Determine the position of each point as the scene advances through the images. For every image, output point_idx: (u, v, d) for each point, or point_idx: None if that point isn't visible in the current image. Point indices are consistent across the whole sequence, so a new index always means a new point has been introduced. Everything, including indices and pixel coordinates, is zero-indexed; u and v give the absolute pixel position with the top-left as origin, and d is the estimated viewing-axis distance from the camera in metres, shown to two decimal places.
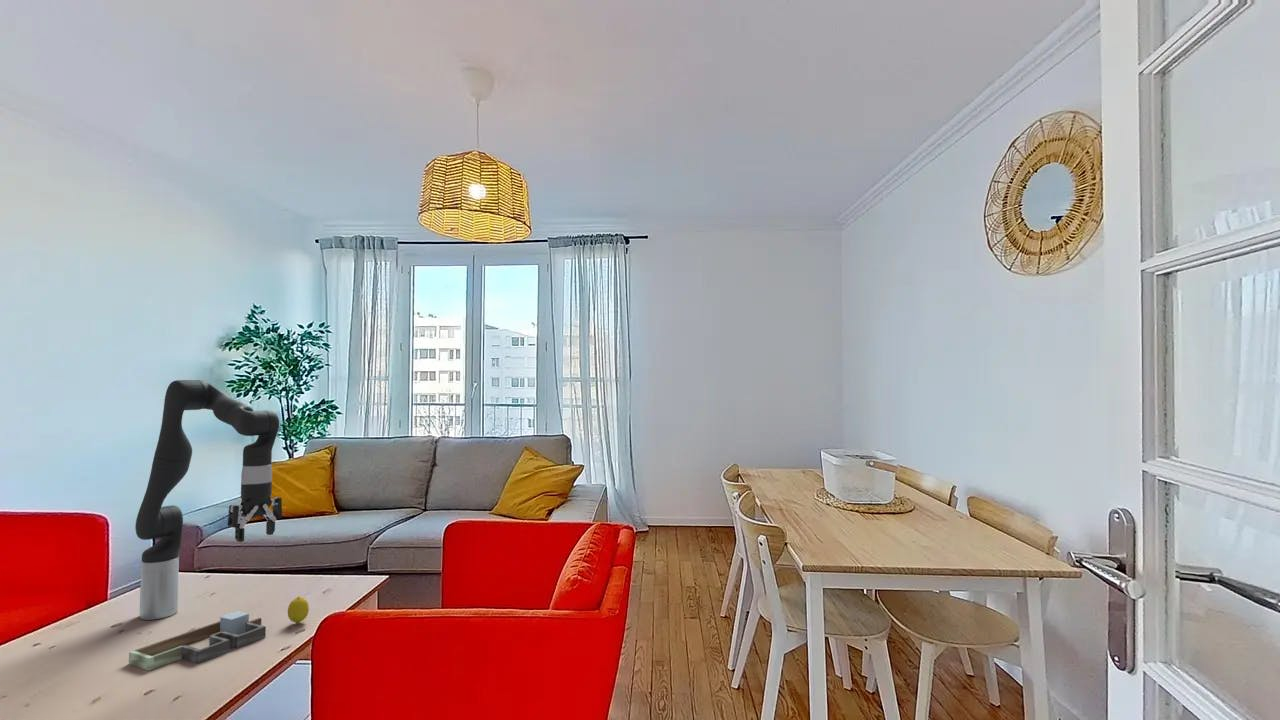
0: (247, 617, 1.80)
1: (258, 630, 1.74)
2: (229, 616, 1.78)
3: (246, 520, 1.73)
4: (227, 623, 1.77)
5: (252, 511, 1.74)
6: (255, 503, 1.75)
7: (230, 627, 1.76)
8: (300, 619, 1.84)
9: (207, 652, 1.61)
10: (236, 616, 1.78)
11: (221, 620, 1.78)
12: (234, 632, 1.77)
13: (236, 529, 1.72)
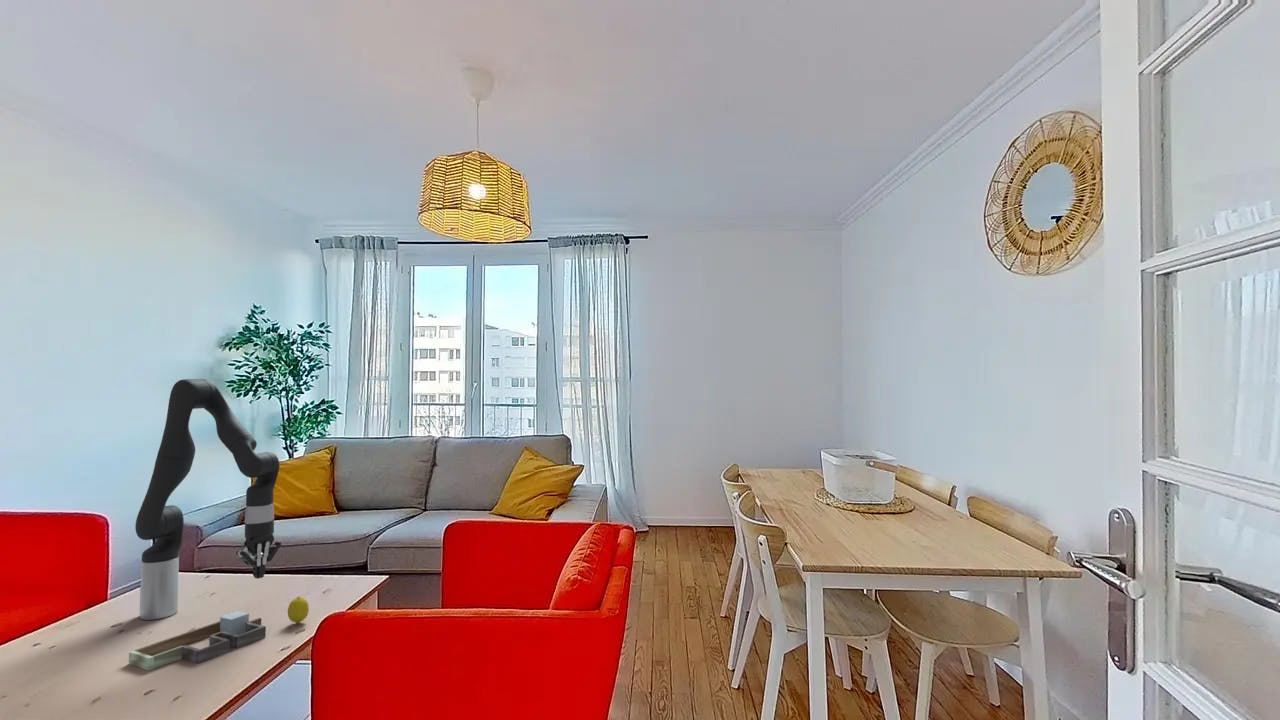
0: (247, 617, 1.80)
1: (258, 630, 1.74)
2: (229, 616, 1.78)
3: (259, 558, 1.85)
4: (227, 623, 1.77)
5: (258, 549, 1.84)
6: (258, 541, 1.85)
7: (230, 627, 1.76)
8: (300, 619, 1.84)
9: (207, 652, 1.61)
10: (236, 616, 1.78)
11: (221, 620, 1.78)
12: (234, 632, 1.77)
13: (254, 567, 1.85)
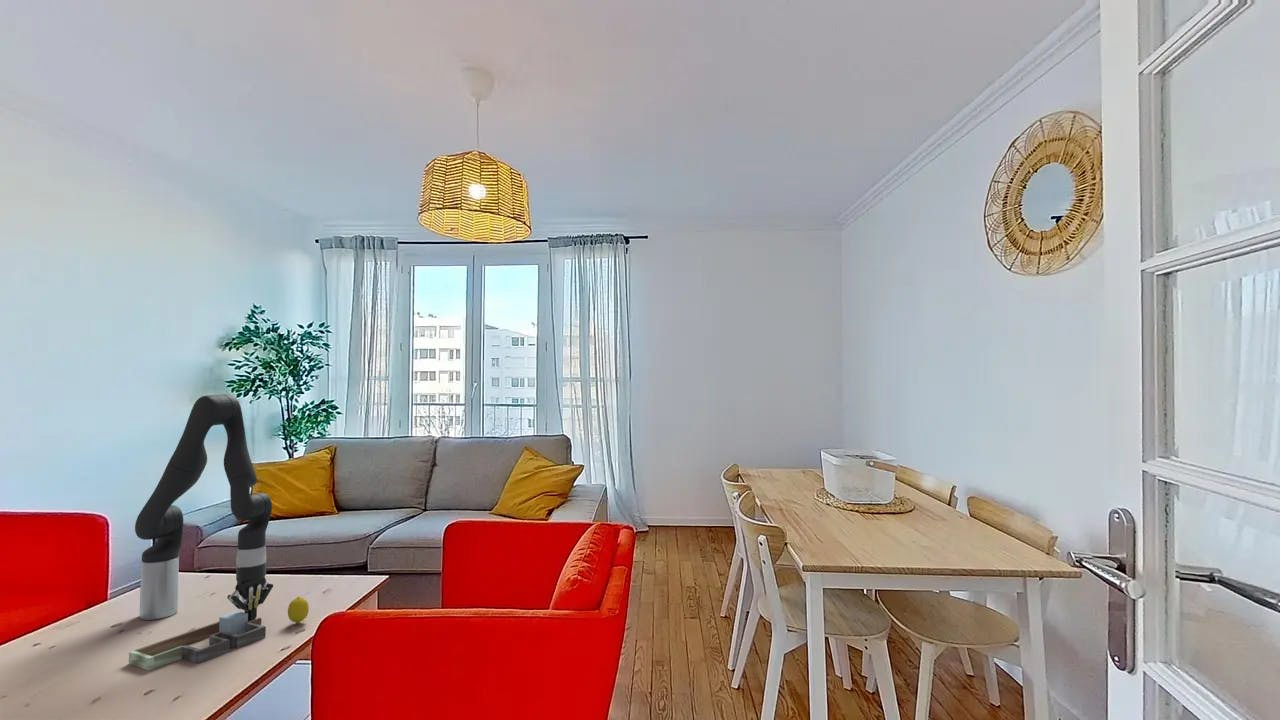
0: (246, 617, 1.80)
1: (258, 630, 1.74)
2: (228, 616, 1.78)
3: (250, 601, 1.82)
4: (226, 623, 1.76)
5: (250, 593, 1.82)
6: (250, 584, 1.83)
7: (230, 627, 1.76)
8: (300, 619, 1.84)
9: (207, 652, 1.61)
10: (235, 616, 1.78)
11: (220, 620, 1.78)
12: (233, 632, 1.76)
13: (245, 610, 1.82)
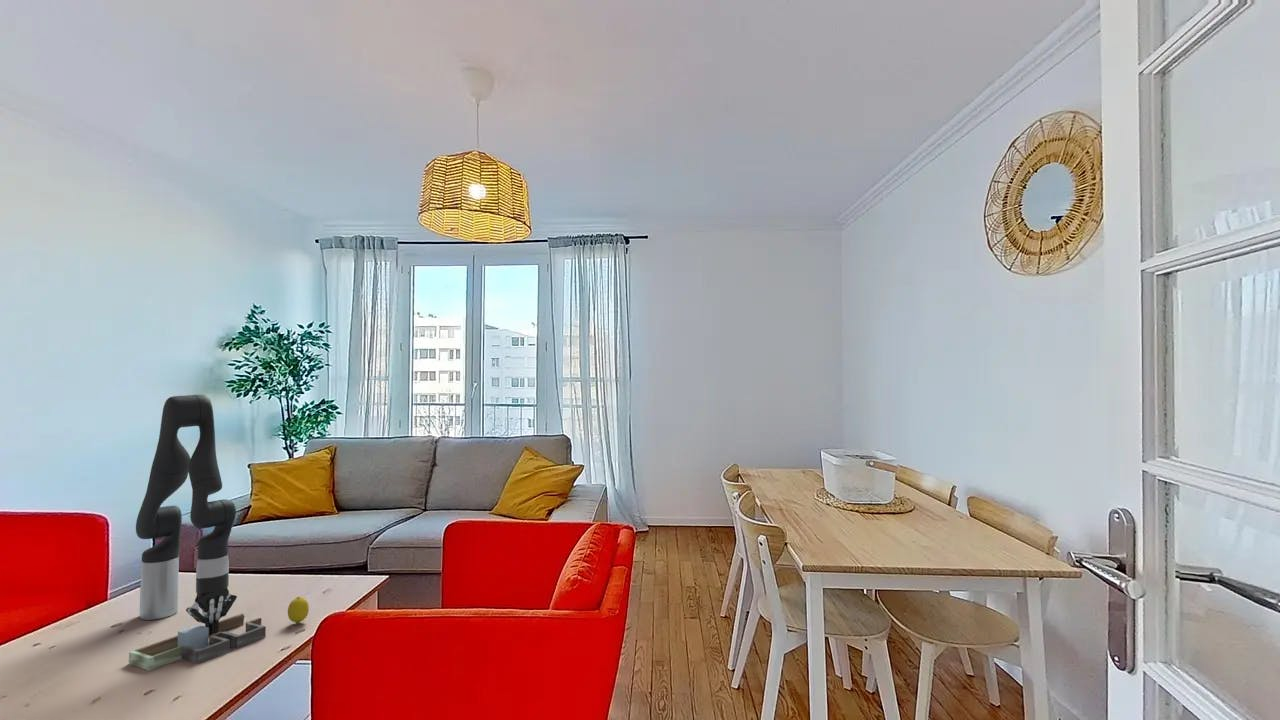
0: (206, 631, 1.70)
1: (258, 630, 1.74)
2: (187, 630, 1.68)
3: (211, 614, 1.72)
4: (184, 638, 1.66)
5: (211, 605, 1.72)
6: (211, 596, 1.72)
7: (188, 643, 1.65)
8: (300, 619, 1.84)
9: (207, 652, 1.61)
10: (195, 630, 1.68)
11: (179, 635, 1.67)
12: None
13: (206, 624, 1.72)
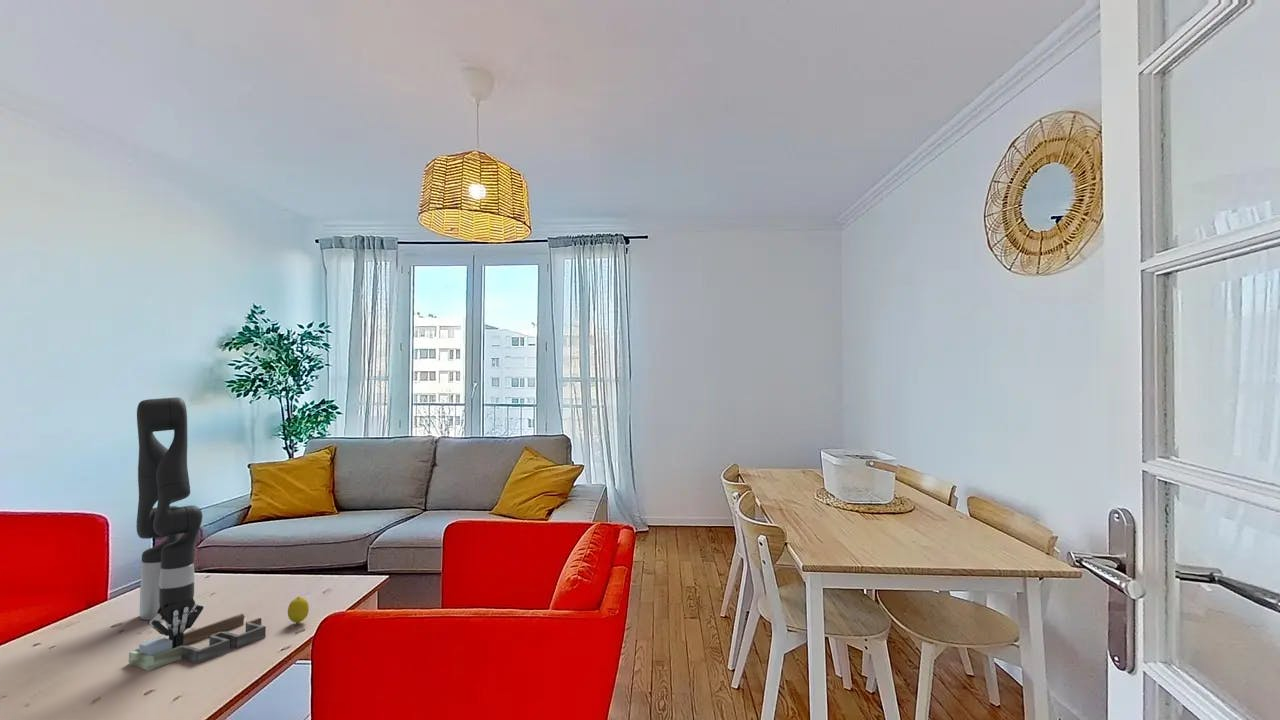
0: (170, 644, 1.61)
1: (258, 630, 1.74)
2: (149, 643, 1.60)
3: (175, 626, 1.64)
4: (146, 651, 1.58)
5: (174, 617, 1.63)
6: (175, 607, 1.64)
7: None
8: (300, 619, 1.84)
9: (207, 652, 1.61)
10: (157, 643, 1.60)
11: (140, 648, 1.59)
12: None
13: (170, 636, 1.64)
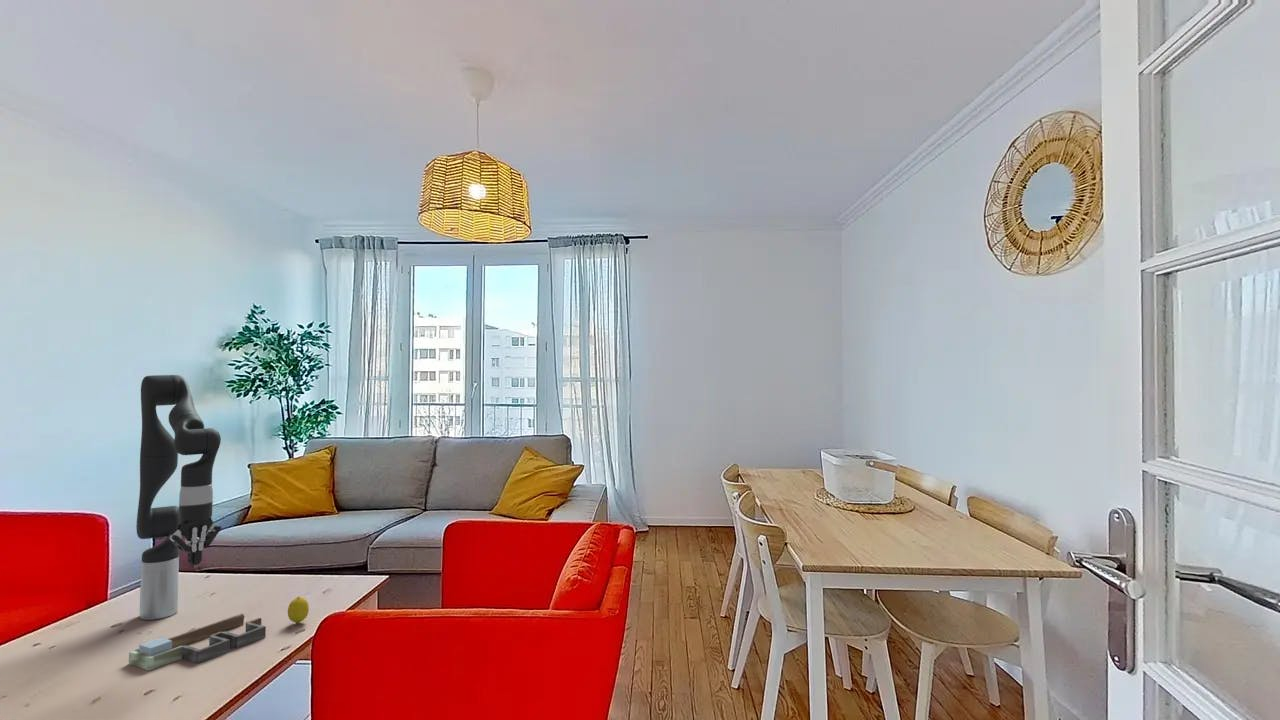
0: (170, 644, 1.61)
1: (258, 630, 1.74)
2: (149, 644, 1.60)
3: (194, 543, 1.69)
4: (146, 652, 1.58)
5: (193, 534, 1.69)
6: (194, 525, 1.69)
7: None
8: (300, 619, 1.84)
9: (207, 652, 1.61)
10: (157, 644, 1.60)
11: (140, 648, 1.59)
12: None
13: (189, 552, 1.69)
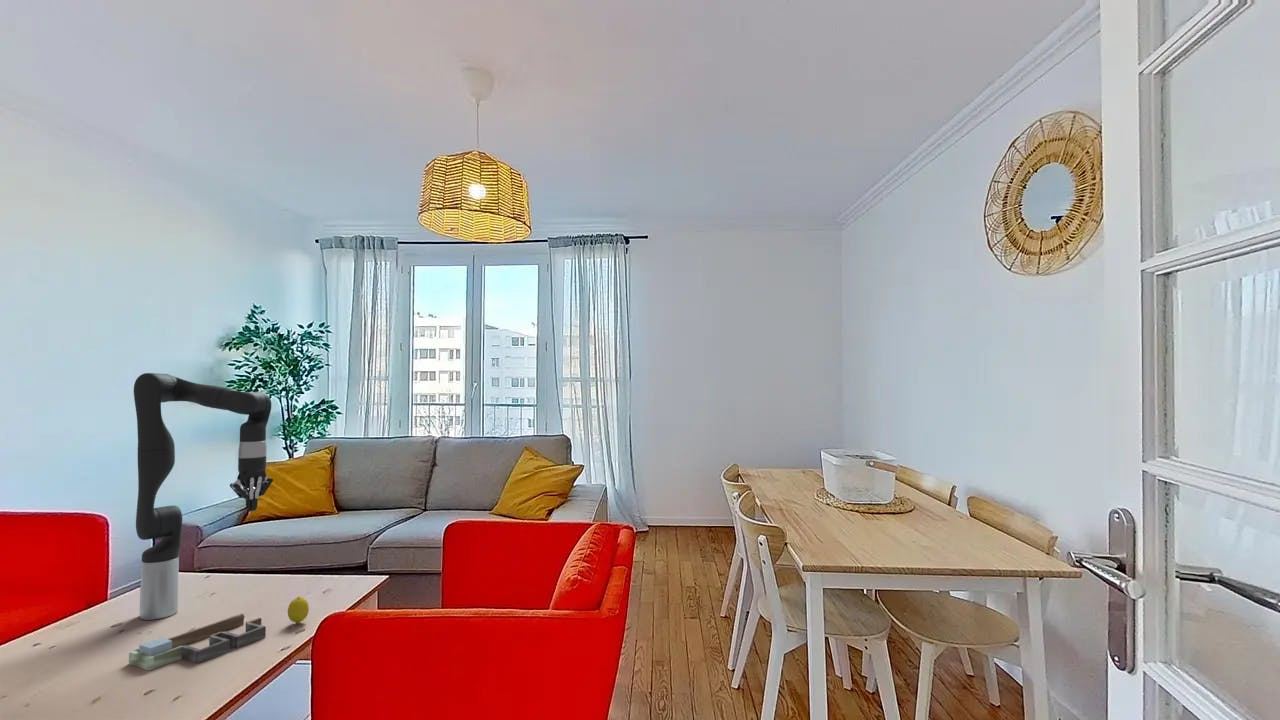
0: (170, 644, 1.61)
1: (258, 630, 1.74)
2: (149, 644, 1.60)
3: (251, 491, 1.93)
4: (146, 652, 1.58)
5: (251, 483, 1.93)
6: (251, 475, 1.93)
7: None
8: (300, 619, 1.84)
9: (207, 652, 1.61)
10: (157, 644, 1.60)
11: (140, 648, 1.59)
12: None
13: (246, 500, 1.93)
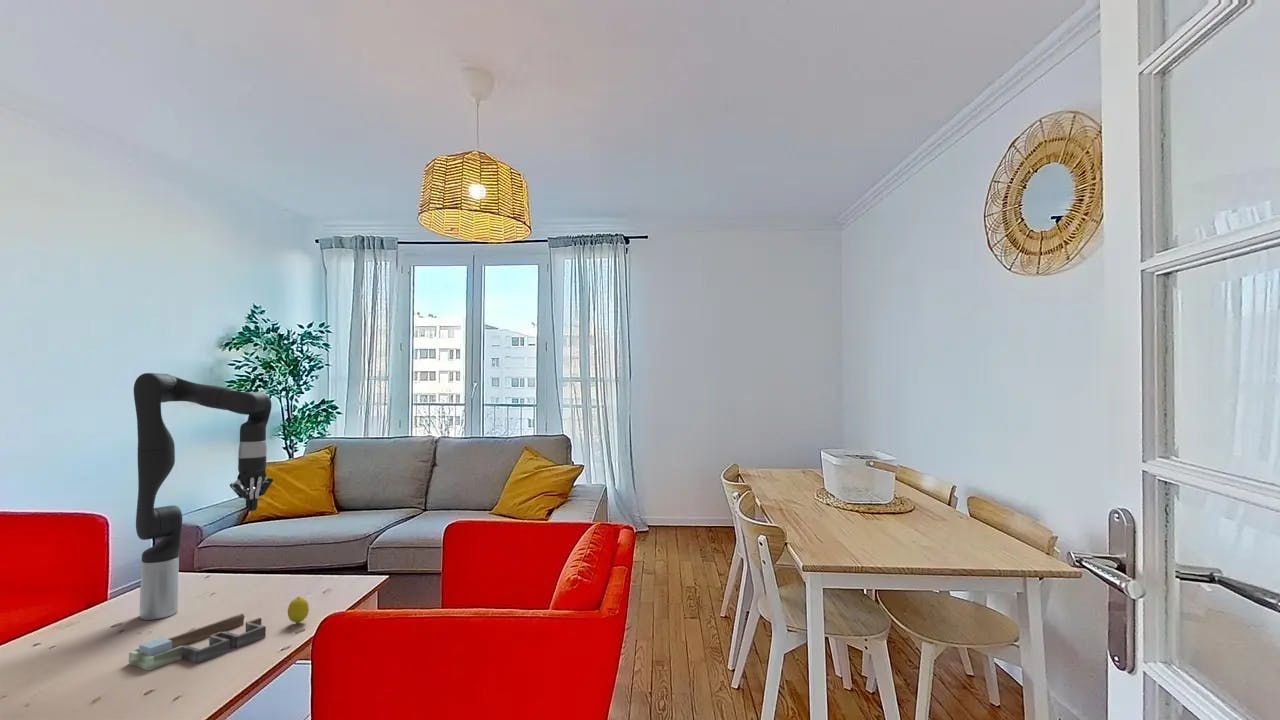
0: (170, 644, 1.61)
1: (258, 630, 1.74)
2: (149, 644, 1.60)
3: (251, 491, 1.93)
4: (146, 652, 1.58)
5: (251, 483, 1.93)
6: (251, 475, 1.93)
7: None
8: (300, 619, 1.84)
9: (207, 652, 1.61)
10: (157, 644, 1.60)
11: (140, 648, 1.59)
12: None
13: (246, 500, 1.93)
